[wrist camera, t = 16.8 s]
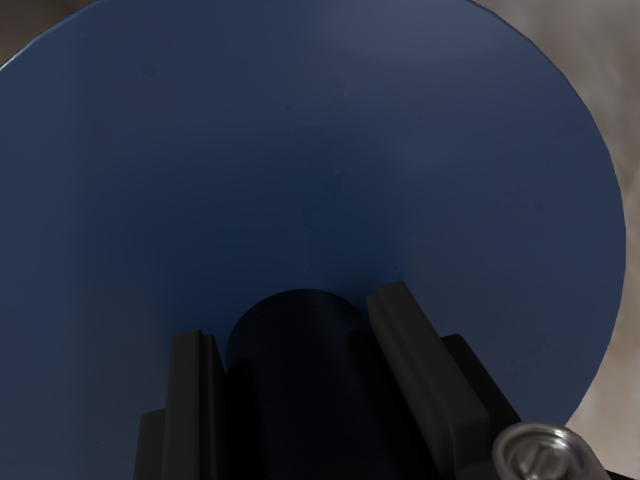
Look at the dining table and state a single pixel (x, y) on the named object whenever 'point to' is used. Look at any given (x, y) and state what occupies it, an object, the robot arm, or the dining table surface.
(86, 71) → the lid
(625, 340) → the dining table surface
